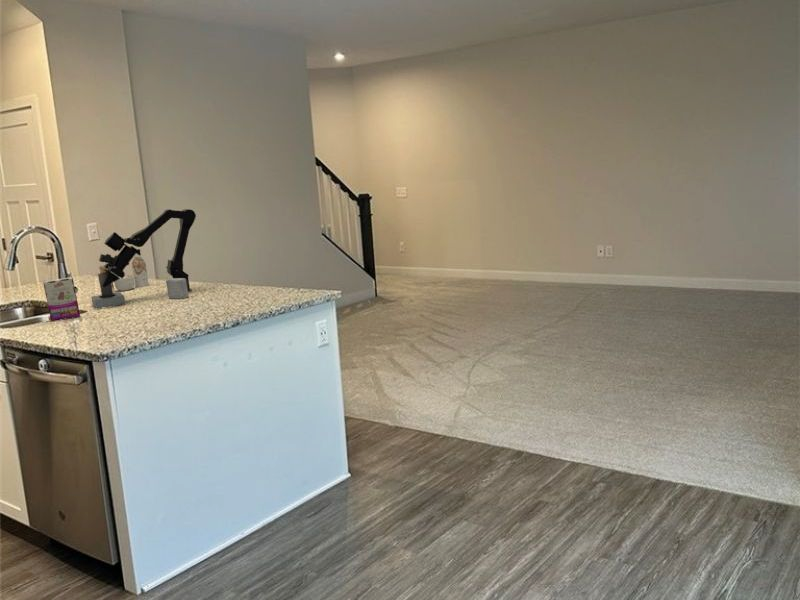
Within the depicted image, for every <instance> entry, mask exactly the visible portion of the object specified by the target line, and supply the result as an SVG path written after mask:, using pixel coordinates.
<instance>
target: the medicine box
mask: <svg viewBox="0 0 800 600" xmlns="http://www.w3.org/2000/svg"><path fill="white" fill-rule="evenodd" d="M165 283H166V290H167V295H168V299H169V300H174V299H175V300H176V299H177V300H182V299H183V298H184V299H186V297H187V298H189V292H188V290H187V284H186V279H185V278H173V277H172V278H169V279H167V280H165ZM184 299H183V300H184Z"/></svg>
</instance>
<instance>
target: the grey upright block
mask: <svg viewBox="0 0 800 600" xmlns="http://www.w3.org/2000/svg"><path fill="white" fill-rule="evenodd" d="M99 271H100V272H99V273H97V276H98V277H97V278H98V281H99V287H100V295H102V298H105V297H111V296H113V292H112V286H111V284H109V285H108V286H106V287H103V284H104V282H105V280H106V278H107V276H108V273H106V270H100V269H99Z"/></svg>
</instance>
